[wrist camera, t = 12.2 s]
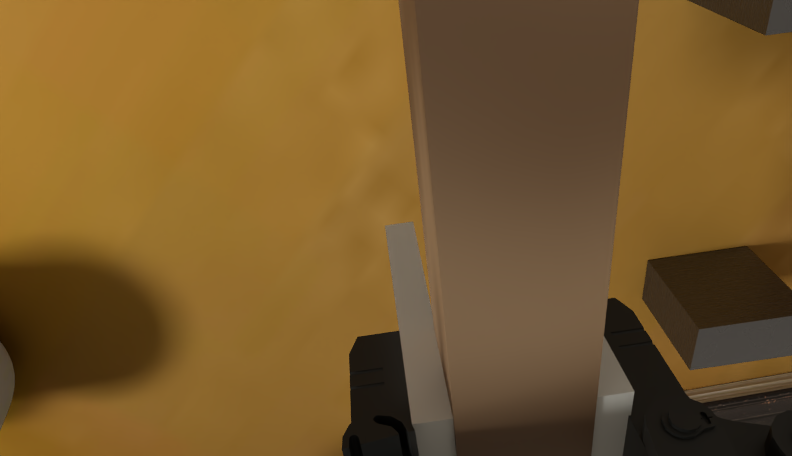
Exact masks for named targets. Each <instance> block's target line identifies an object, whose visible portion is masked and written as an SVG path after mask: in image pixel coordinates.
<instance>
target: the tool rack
mask: <svg viewBox="0 0 792 456" xmlns="http://www.w3.org/2000/svg"><path fill="white" fill-rule="evenodd" d="M689 1H691V2H693V3H695V4H697V5H700V6H702V7H704V8H706V9H708V10H711V11H713V12H715V13H717V14H719V15H722V16H724V17H726V18H728V19H730V20H733V21H735V22H737V23H739V24H741V25H744V26H746V27H748V28H750V29H752V30H755V31H757V32H759V33H761V34H763V35H772V34H779V33H786V32H792V0H689ZM642 299H643V301H644V302H645V304H646V305H647V307H648V308H649V310H650V311H651V313H652V314H653V316H654V317H655V319H656V320H657V322H658V323H659V325H660V326H661V327H662V329H663V330H664V332H665V333H666V335H667V336H668V338H669V339H670V341H671V342H672V344H673V345H674V347H675V348H676V350H677V351H678V353H679V354H680V356H681V357H682V359H683V360H684V362H685V363H686V365H687V366H688V368H689V369H690V370H694V369H701V368H708V367H715V366H722V365H729V364H735V363H742V362H749V361H756V360H763V359H770V358H777V357H784V356H790V355H792V290H791V289H790V288H789V287H788V286H787V285H786V284H785V283H784V282H783V281H782V280H781V279H780V278H779V277H778V276H777V275H776V274H775V273H774V272H773V271H772V270H771V269H770V268H769V267H768V266H767V265H766V264H765V263H764V262H762V261H761V260H760V259H759V258H758V257H757V256H756V255H755V254H754V253H753V252H752V251H751V250H750V249H749V248H748V247H747V246H745V247H738V248H731V249H724V250H717V251H710V252H703V253H697V254H690V255H683V256H676V257H669V258H662V259H655V260H648V264H647V271H646V277H645V284H644V291H643V298H642Z"/></svg>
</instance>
